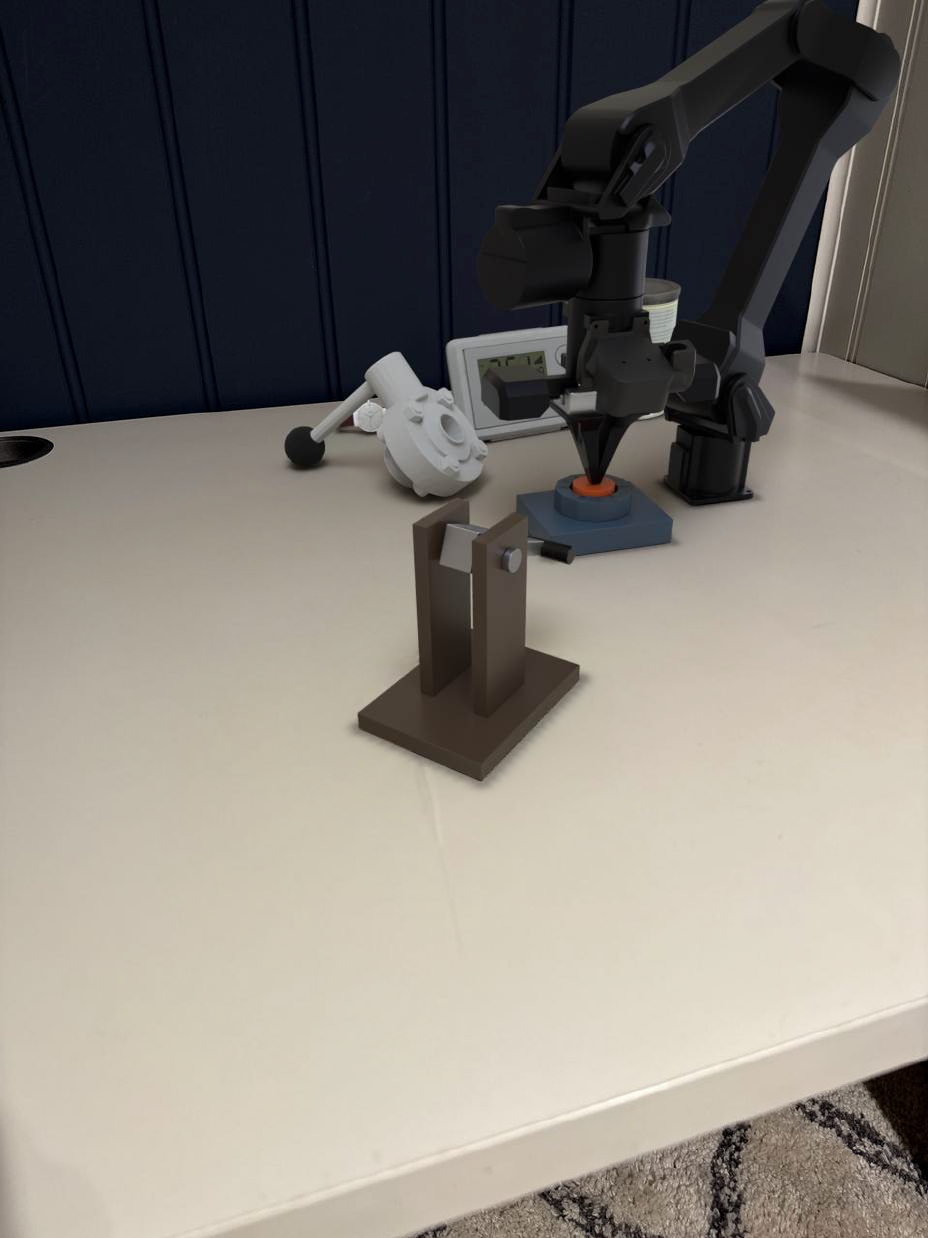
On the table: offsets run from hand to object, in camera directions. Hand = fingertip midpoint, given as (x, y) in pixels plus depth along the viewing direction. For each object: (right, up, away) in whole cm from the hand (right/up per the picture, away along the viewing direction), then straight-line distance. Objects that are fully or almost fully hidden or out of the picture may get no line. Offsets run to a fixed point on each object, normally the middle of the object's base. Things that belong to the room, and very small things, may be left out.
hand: (594, 482), depth 77 cm
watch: (-22, +10, +27) cm, 36 cm away
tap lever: (-9, -8, -22) cm, 25 cm away
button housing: (0, -4, +2) cm, 4 cm away
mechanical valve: (-20, +2, +13) cm, 24 cm away
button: (0, -1, +1) cm, 2 cm away
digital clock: (-5, +10, +25) cm, 27 cm away
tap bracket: (-11, -17, -20) cm, 28 cm away
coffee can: (+8, +14, +32) cm, 36 cm away
